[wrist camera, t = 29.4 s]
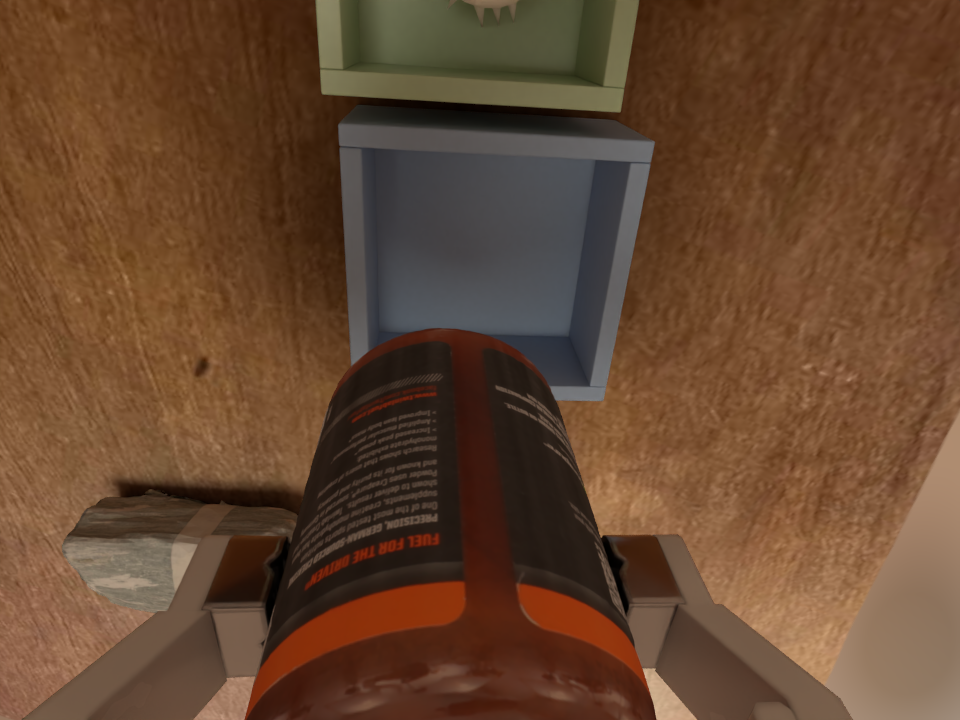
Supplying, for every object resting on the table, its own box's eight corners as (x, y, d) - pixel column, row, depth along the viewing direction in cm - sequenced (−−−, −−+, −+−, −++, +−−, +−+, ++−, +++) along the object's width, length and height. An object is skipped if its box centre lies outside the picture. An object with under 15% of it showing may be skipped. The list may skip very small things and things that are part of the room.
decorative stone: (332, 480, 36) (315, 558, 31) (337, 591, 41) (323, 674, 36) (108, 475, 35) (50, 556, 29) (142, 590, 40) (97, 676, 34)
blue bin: (356, 104, 25) (337, 123, 21) (616, 119, 26) (656, 141, 22) (365, 339, 31) (352, 397, 26) (578, 344, 32) (603, 401, 27)
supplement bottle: (286, 443, 15) (24, 1172, 6) (412, 270, 13) (336, 970, 3) (468, 532, 17) (508, 1181, 8) (603, 395, 15) (897, 1057, 5)
